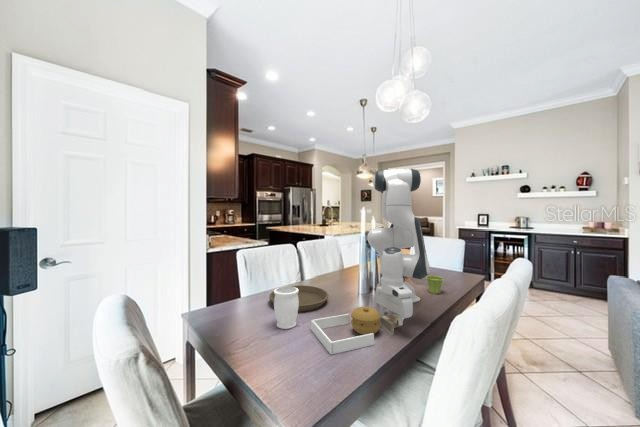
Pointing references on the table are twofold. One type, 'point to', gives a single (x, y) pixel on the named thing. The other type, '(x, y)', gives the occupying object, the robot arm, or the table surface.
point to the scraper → (389, 323)
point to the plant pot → (434, 284)
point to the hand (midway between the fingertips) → (392, 320)
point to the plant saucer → (307, 297)
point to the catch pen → (342, 344)
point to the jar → (286, 306)
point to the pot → (365, 320)
